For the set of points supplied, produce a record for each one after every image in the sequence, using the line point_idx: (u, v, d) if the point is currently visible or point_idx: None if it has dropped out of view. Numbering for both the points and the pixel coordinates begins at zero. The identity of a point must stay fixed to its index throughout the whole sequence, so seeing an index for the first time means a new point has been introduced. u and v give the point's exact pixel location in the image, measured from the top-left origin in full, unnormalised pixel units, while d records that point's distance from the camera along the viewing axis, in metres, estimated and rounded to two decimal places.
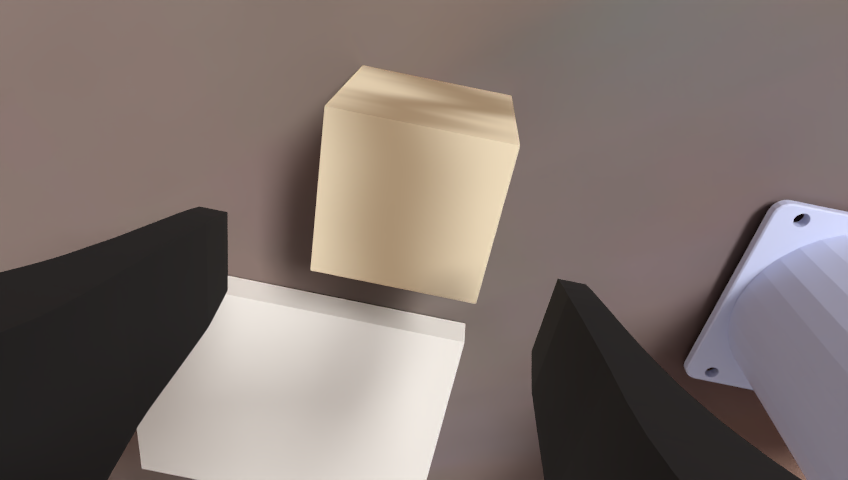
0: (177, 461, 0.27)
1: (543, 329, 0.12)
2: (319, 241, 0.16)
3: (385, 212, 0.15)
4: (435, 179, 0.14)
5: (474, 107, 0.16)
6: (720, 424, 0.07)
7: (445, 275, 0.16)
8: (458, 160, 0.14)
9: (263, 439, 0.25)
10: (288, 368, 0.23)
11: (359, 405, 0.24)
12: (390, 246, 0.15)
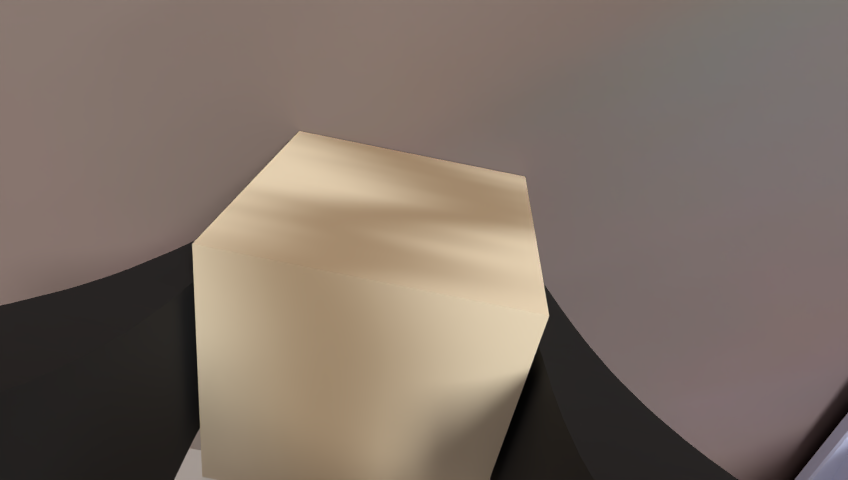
0: None
1: None
2: (211, 440, 0.09)
3: (314, 404, 0.09)
4: (398, 361, 0.08)
5: (467, 213, 0.10)
6: (647, 410, 0.07)
7: None
8: (437, 335, 0.08)
9: None
10: None
11: None
12: (327, 451, 0.09)
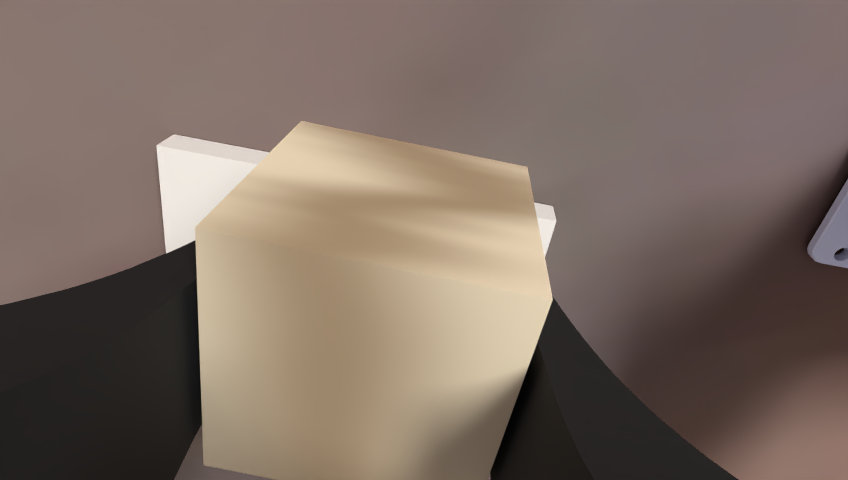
0: None
1: None
2: (212, 428, 0.09)
3: (318, 391, 0.09)
4: (401, 346, 0.08)
5: (470, 201, 0.10)
6: (647, 410, 0.07)
7: None
8: (441, 320, 0.08)
9: None
10: None
11: None
12: (329, 439, 0.09)
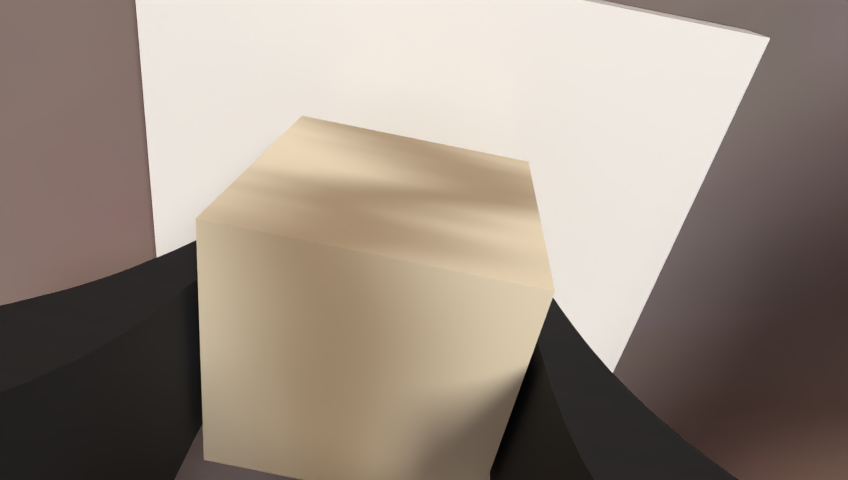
0: None
1: None
2: (213, 422, 0.09)
3: (318, 385, 0.09)
4: (402, 338, 0.08)
5: (471, 194, 0.10)
6: (647, 410, 0.07)
7: (424, 475, 0.10)
8: (442, 312, 0.08)
9: None
10: (426, 120, 0.13)
11: (541, 195, 0.14)
12: (329, 433, 0.09)
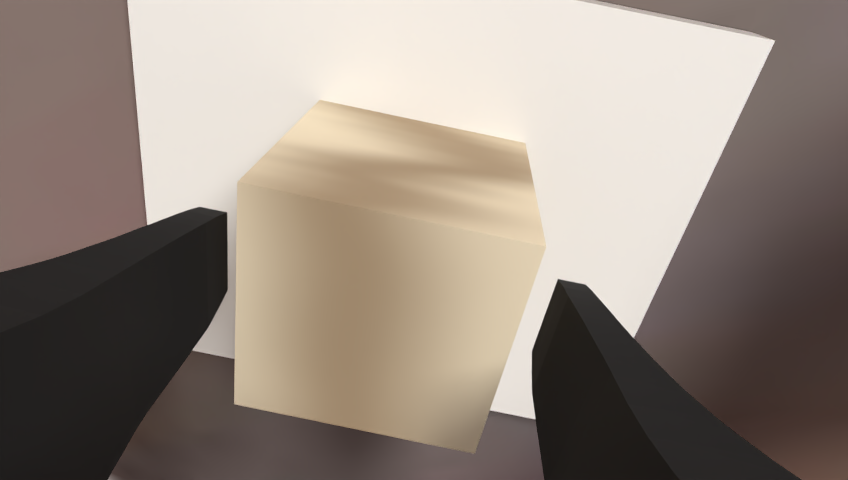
0: (214, 328, 0.17)
1: (543, 329, 0.12)
2: (244, 368, 0.11)
3: (338, 332, 0.10)
4: (414, 289, 0.09)
5: (474, 169, 0.11)
6: (721, 424, 0.07)
7: (430, 417, 0.11)
8: (449, 265, 0.09)
9: None
10: None
11: (541, 200, 0.14)
12: (348, 378, 0.10)
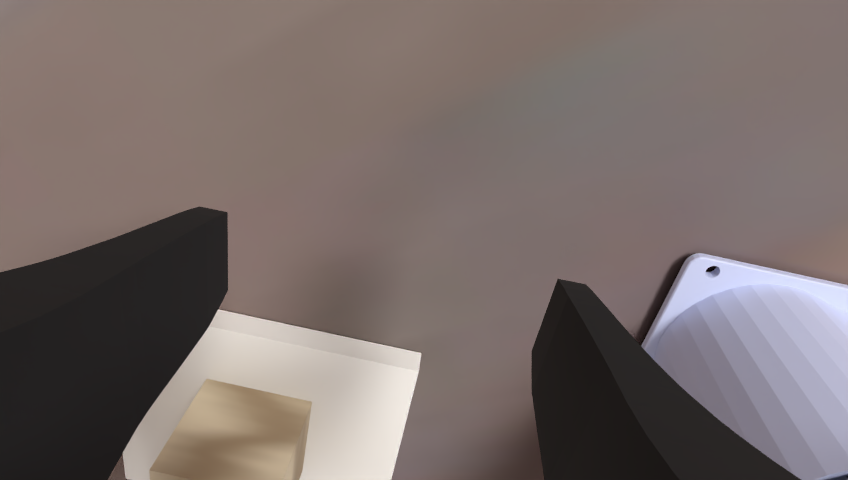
0: None
1: (543, 329, 0.12)
2: None
3: None
4: None
5: (269, 436, 0.23)
6: (721, 424, 0.07)
7: None
8: None
9: None
10: None
11: (325, 425, 0.26)
12: None
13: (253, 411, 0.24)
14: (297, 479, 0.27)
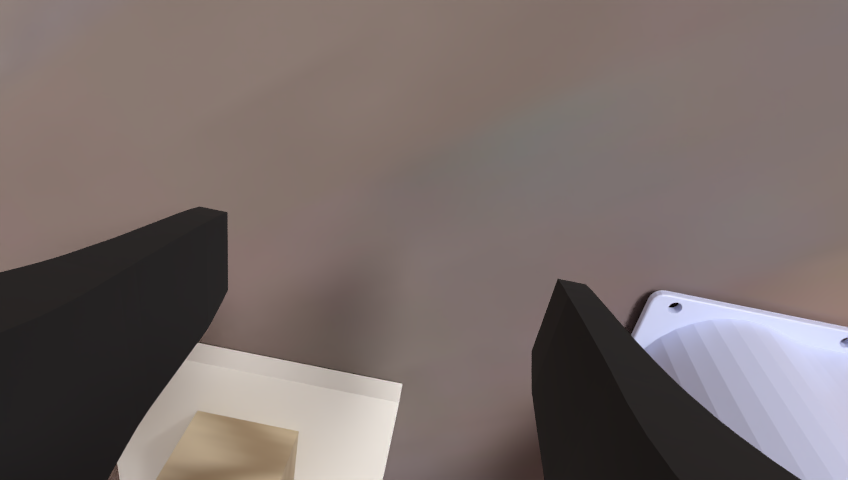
0: None
1: (543, 329, 0.12)
2: None
3: None
4: None
5: (256, 467, 0.24)
6: (721, 425, 0.07)
7: None
8: None
9: None
10: None
11: (312, 453, 0.27)
12: None
13: (242, 442, 0.25)
14: None
